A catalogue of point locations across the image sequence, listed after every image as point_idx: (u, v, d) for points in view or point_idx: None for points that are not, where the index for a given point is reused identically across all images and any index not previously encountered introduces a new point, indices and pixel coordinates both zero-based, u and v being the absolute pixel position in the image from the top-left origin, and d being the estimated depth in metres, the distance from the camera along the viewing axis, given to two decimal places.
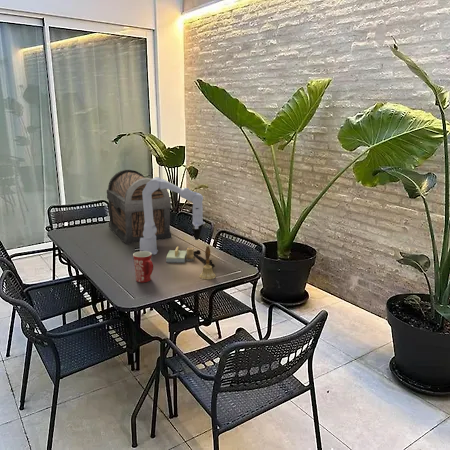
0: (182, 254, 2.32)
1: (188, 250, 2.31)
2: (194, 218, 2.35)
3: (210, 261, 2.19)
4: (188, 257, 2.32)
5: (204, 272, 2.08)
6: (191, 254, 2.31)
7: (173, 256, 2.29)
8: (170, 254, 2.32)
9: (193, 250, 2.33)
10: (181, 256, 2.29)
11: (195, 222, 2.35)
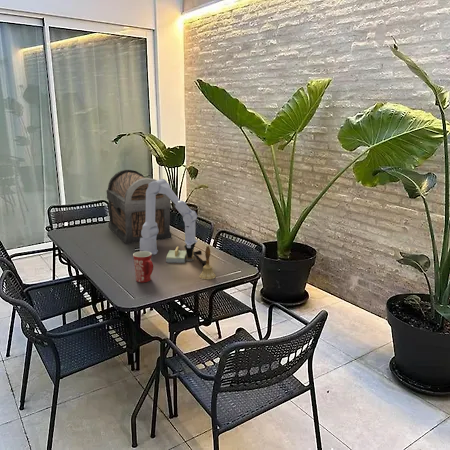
0: (182, 254, 2.32)
1: None
2: (186, 236, 2.28)
3: (205, 262, 2.18)
4: None
5: (204, 272, 2.08)
6: None
7: (173, 256, 2.29)
8: (170, 254, 2.32)
9: (193, 250, 2.33)
10: (181, 256, 2.29)
11: (187, 241, 2.28)
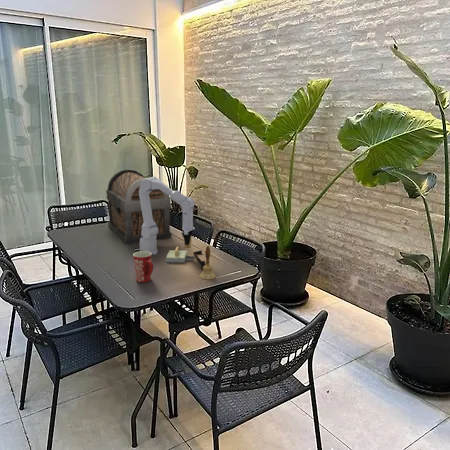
0: (182, 254, 2.32)
1: None
2: (184, 223, 2.28)
3: (203, 262, 2.17)
4: (186, 245, 2.32)
5: (204, 272, 2.08)
6: None
7: (173, 256, 2.29)
8: (170, 254, 2.32)
9: None
10: (181, 256, 2.29)
11: (185, 227, 2.28)
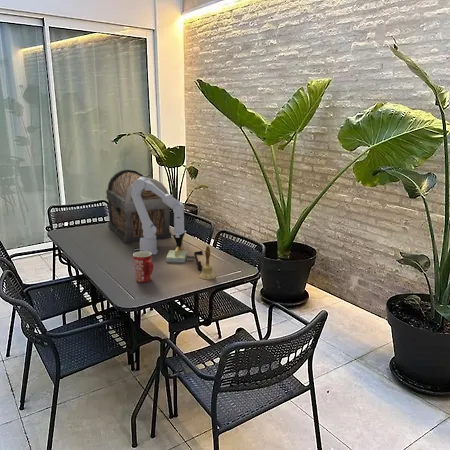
0: (182, 254, 2.32)
1: None
2: (175, 227, 2.37)
3: (199, 262, 2.17)
4: None
5: (204, 272, 2.08)
6: None
7: (173, 256, 2.29)
8: (170, 254, 2.32)
9: (182, 241, 2.43)
10: (181, 256, 2.29)
11: (176, 231, 2.37)
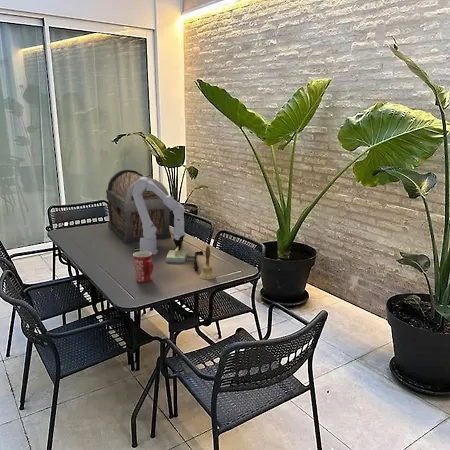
0: (182, 254, 2.32)
1: None
2: (175, 229, 2.37)
3: (195, 263, 2.16)
4: None
5: (204, 272, 2.08)
6: None
7: (173, 256, 2.29)
8: (170, 254, 2.32)
9: (182, 244, 2.43)
10: (181, 256, 2.29)
11: (176, 233, 2.38)
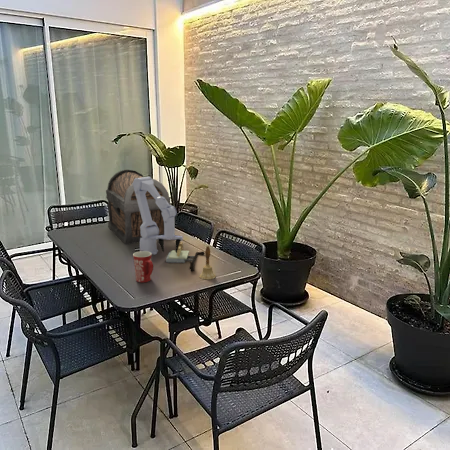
0: (184, 254, 2.32)
1: None
2: None
3: (191, 263, 2.16)
4: None
5: (204, 272, 2.08)
6: None
7: (175, 256, 2.29)
8: (172, 254, 2.32)
9: (182, 244, 2.43)
10: (183, 256, 2.29)
11: None
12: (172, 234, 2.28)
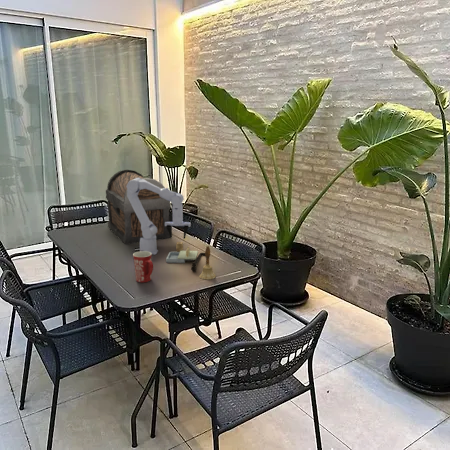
0: (193, 254, 2.32)
1: (178, 244, 2.40)
2: None
3: (193, 264, 2.15)
4: (178, 251, 2.41)
5: (204, 272, 2.08)
6: (180, 248, 2.41)
7: (184, 256, 2.29)
8: (181, 254, 2.32)
9: (182, 244, 2.43)
10: (192, 256, 2.29)
11: None
12: (180, 220, 2.34)
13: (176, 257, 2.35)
